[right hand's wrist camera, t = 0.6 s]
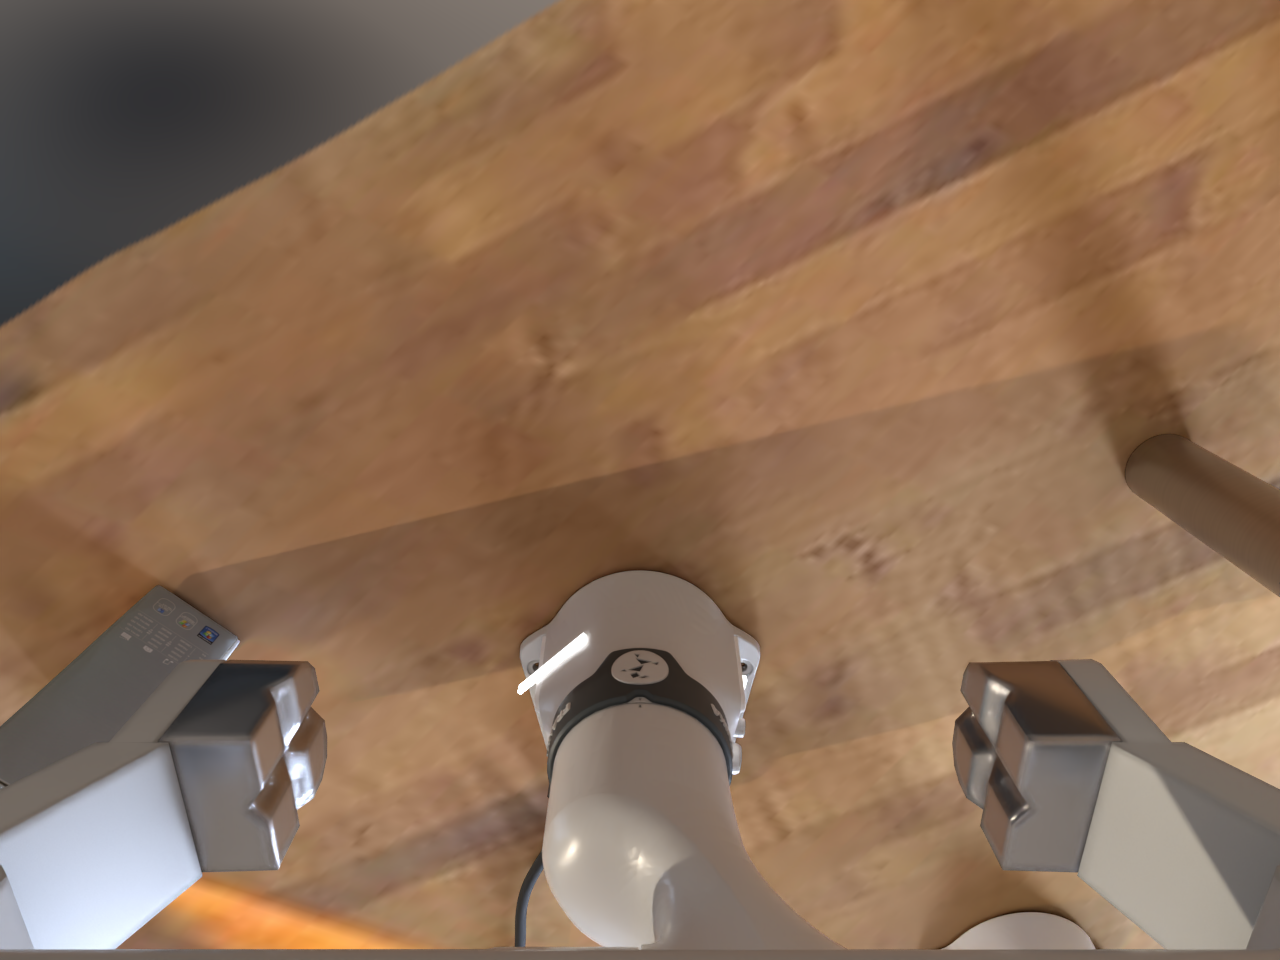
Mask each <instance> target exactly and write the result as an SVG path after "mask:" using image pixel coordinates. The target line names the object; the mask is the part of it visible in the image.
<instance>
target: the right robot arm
mask: <svg viewBox="0 0 1280 960" xmlns="http://www.w3.org/2000/svg"><path fill="white" fill-rule="evenodd" d="M520 660H521V663H522V667H523V670H524V674H525V677H526V680H525V681H524V682H522V683H521V684H520V685H519V688H518V693H519V694H520V695H521V694H522V693H523V692H525V691H526V690H527V689H528V688H529V690H530V694H531V697H532V701H533V704H534V707H535V711H536V714H537V717H538V721H539V724H540V728H541V731H542V734H543V738H544V741H545V745H546V748H547V756H548V761H547V773H548V779H549V789H548V798H549V802H548V809H547V817H546V824H545V832H544V839H543V846H542V851H541V852H540V854H539V855H538V857H537V859H536V860H535V862H534V863H533V865H532V867H531V868H530V870H529V872H528V874H527V875H526V877H525V879H524V882H523V884H522V887H521V890H520V893H519V897H518V902H517V908H516V917H515V947H494V948H489V949H217V950H151V949H116V948H117V947H118V946H119V945H120V944H122V943H123V942H124V941H125V940H126V939H128V938H129V937H130V936H131V935H132V934H134V933H135V932H136V931H137V930H138V929H140V928H141V927H142V926H143V925H144V924H146V923H147V922H148V921H149V920H150V919H152V918H153V917H154V916H155V915H156V914H158V913H159V912H160V911H161V910H162V909H164V908H165V907H166V906H167V905H168V904H170V903H171V902H172V901H173V900H174V899H176V898H177V897H178V896H179V895H180V894H182V893H183V892H184V891H185V890H186V889H188V888H189V887H190V886H191V885H192V884H194V883H195V882H196V881H197V880H198V879H200V878H201V877H202V872H228V871H263V870H278V868H279V866H280V864H281V862H282V860H283V858H284V856H285V854H286V852H287V850H288V848H289V846H290V844H291V842H292V840H293V838H294V836H295V834H296V832H297V830H298V828H299V826H300V825H299V820H298V814H297V809H298V808H300V807H301V806H303V805H304V804H305V803H307V802H308V801H310V800H311V799H313V798H314V796H315V794H316V792H317V789H318V787H319V785H320V783H321V781H322V777H323V773H324V768H325V763H326V759H327V733H326V727H325V720H324V719H323V718H322V717H321V716H320V715H319V714H318V713H317V712H316V711H315V710H314V709H313V708H312V707H311V705H312V703H313V701H314V699H315V698H316V696H317V694H318V692H319V686H318V681H317V677H316V672H315V668H314V667H313V666H312V665H311V664H310V663H309V662H308V661H264V660H228V661H227V660H188V661H184V662H181V663H179V664H178V665H177V666H176V667H175V668H174V669H173V671H172V672H171V673H170V674H169V675H168V676H167V677H166V678H165V680H164V681H163V682H162V683H161V684H160V685H159V686H158V687H157V689H156V690H155V691H154V692H153V693H152V694H151V695H150V696H149V698H148V699H147V700H146V701H145V702H144V703H143V704H142V705H141V706H140V708H139V709H138V710H137V711H136V712H135V713H134V714H133V715H132V717H131V718H130V719H129V720H128V721H127V722H126V723H125V724H124V726H123V727H122V728H121V729H120V730H119V731H118V732H117V733H116V734H115V736H114V737H113V738H112V739H111V740H110V741H109V742H95V743H93V744H91V745H89V746H87V747H85V748H83V749H81V750H79V751H77V752H75V753H73V754H71V755H69V756H67V757H65V758H63V759H61V760H59V761H57V762H55V763H53V764H51V765H49V766H46V767H44V768H42V769H40V770H38V771H36V772H34V773H32V774H30V775H28V776H26V777H24V778H22V779H20V780H18V781H16V782H14V783H12V784H10V785H8V786H6V787H4V788H2V789H0V960H1280V789H1278V788H1276V787H1274V786H1272V785H1270V784H1268V783H1266V782H1264V781H1262V780H1260V779H1258V778H1256V777H1254V776H1252V775H1250V774H1248V773H1245V772H1243V771H1241V770H1239V769H1237V768H1235V767H1233V766H1231V765H1229V764H1227V763H1225V762H1223V761H1221V760H1219V759H1217V758H1215V757H1213V756H1211V755H1209V754H1207V753H1205V752H1203V751H1201V750H1199V749H1197V748H1195V747H1193V746H1191V745H1189V744H1187V743H1185V742H1171V741H1170V740H1169V739H1168V738H1167V737H1166V736H1165V735H1164V733H1163V732H1162V731H1161V730H1160V729H1159V728H1158V727H1157V726H1156V724H1155V723H1154V722H1153V721H1152V720H1151V719H1150V718H1149V717H1148V715H1147V714H1146V713H1145V712H1144V711H1143V710H1142V709H1141V708H1140V706H1139V705H1138V704H1137V703H1136V702H1135V701H1134V700H1133V699H1132V698H1131V696H1130V695H1129V694H1128V693H1127V692H1126V691H1125V690H1124V689H1123V687H1122V686H1121V685H1120V684H1119V683H1118V682H1117V681H1116V680H1115V678H1114V677H1113V676H1112V675H1111V674H1110V673H1109V672H1108V671H1107V669H1106V668H1105V667H1104V666H1103V665H1102V664H1101V663H1099V662H1097V661H1094V660H1092V659H1078V660H1051V661H1029V662H973V663H969V664H968V666H967V668H966V670H965V672H964V675H963V680H962V685H961V692H962V694H963V696H964V698H965V699H966V701H967V703H968V705H969V707H968V708H967V709H966V710H965V711H964V712H963V713H962V714H961V715H960V716H959V717H958V718H957V719H956V720H955V728H954V735H953V743H952V744H953V756H954V766H955V770H956V773H957V777H958V780H959V783H960V785H961V787H962V790H963V792H964V794H965V796H966V798H967V799H969V800H970V801H972V802H973V803H975V804H976V805H977V806H979V807H980V808H982V809H983V814H982V820H981V825H980V826H981V828H982V830H983V832H984V834H985V836H986V838H987V840H988V842H989V844H990V846H991V848H992V850H993V852H994V854H995V856H996V858H997V860H998V862H999V864H1000V866H1001V868H1002V870H1015V871H1051V872H1078V875H1077V876H1078V877H1080V878H1081V879H1082V880H1083V881H1084V882H1086V883H1087V884H1088V885H1089V886H1090V887H1092V888H1093V889H1094V890H1095V891H1096V892H1098V893H1099V894H1100V895H1101V896H1102V897H1104V898H1105V899H1106V900H1107V901H1108V902H1109V903H1111V904H1112V905H1113V906H1114V907H1115V908H1117V909H1118V910H1119V911H1120V912H1121V913H1123V914H1124V915H1125V916H1126V917H1127V918H1129V919H1130V920H1131V921H1132V922H1133V923H1135V924H1136V925H1137V926H1138V927H1139V928H1141V929H1142V930H1143V931H1144V932H1145V933H1147V934H1148V935H1149V936H1150V937H1151V938H1153V939H1154V940H1155V941H1156V942H1157V943H1159V944H1160V945H1161V946H1162V947H1163V948H1165V949H978V950H848V949H846V948H844V947H843V946H841V945H839V944H838V943H836V942H834V941H833V940H831V939H830V938H828V937H827V936H825V935H824V934H823V933H821V932H820V931H819V930H817V929H816V928H814V927H813V926H812V925H811V924H809V923H808V922H807V921H806V920H805V919H803V918H802V917H801V916H800V915H799V914H797V913H796V912H795V911H794V910H793V909H792V908H791V907H790V906H789V905H788V904H787V903H786V902H785V901H784V900H783V899H782V898H781V897H780V896H779V895H778V894H777V893H776V892H775V890H774V889H773V888H772V887H771V886H770V885H769V884H768V883H767V881H766V880H765V879H764V878H763V876H762V875H761V874H760V873H759V871H758V870H757V868H756V867H755V865H754V864H753V862H752V861H751V859H750V857H749V855H748V853H747V851H746V850H745V847H744V845H743V842H742V839H741V835H740V832H739V828H738V824H737V820H736V816H735V812H734V807H733V803H732V797H731V792H730V784H731V779H732V774H733V775H736V774H738V773H739V771H740V768H741V761H742V748H741V745H739V744H738V743H735V741H736V738H737V737H741V738H742V737H744V734H745V727H746V723H745V719H743V714H744V711H745V707H746V704H747V701H748V697H749V694H750V691H751V687H752V684H753V680H754V677H755V674H756V670H757V667H758V664H759V660H760V646H759V644H758V642H757V641H756V640H755V639H754V638H753V637H752V636H750V635H749V634H747V633H746V632H744V631H742V630H741V629H739V628H737V627H735V626H733V625H732V624H731V623H730V622H729V621H728V620H727V619H726V618H725V616H724V615H723V613H722V612H721V611H720V609H719V608H718V606H717V605H716V604H715V603H714V602H713V600H712V599H711V598H710V597H709V596H708V595H706V594H705V593H704V592H703V591H702V590H700V589H699V588H698V587H696V586H694V585H693V584H691V583H689V582H687V581H685V580H683V579H681V578H678V577H676V576H673V575H669V574H666V573H661V572H655V571H645V570H635V571H625V572H619V573H614V574H611V575H607V576H604V577H602V578H599V579H597V580H595V581H593V582H591V583H589V584H587V585H586V586H584V587H583V588H581V589H580V590H578V591H577V592H576V593H575V594H574V595H572V596H571V597H570V598H569V599H568V600H567V602H566V603H565V604H564V605H563V606H562V608H561V609H560V611H559V612H558V613H557V615H556V616H555V618H554V619H553V620H552V621H551V622H550V623H549V624H548V625H547V626H545V627H543V628H541V629H540V630H538V631H536V632H534V633H533V634H531V635H530V636H528V637H527V638H526V639H525V640H524V641H523V642H522V644H521V646H520ZM535 663H539V667H538V666H536V665H535ZM741 663H745V665H744V666H742V667H741ZM543 869H544V872H545V876H546V879H547V882H548V885H549V887H550V889H551V891H552V893H553V895H554V897H555V898H556V900H557V902H558V903H559V905H560V907H561V908H562V909H563V911H564V912H565V914H566V915H567V916H568V918H569V919H570V920H571V921H572V923H573V924H574V925H575V926H576V927H577V928H578V929H579V930H580V931H581V932H582V933H584V934H585V935H586V936H587V937H589V938H590V939H592V940H593V941H595V942H597V943H598V944H600V945H601V946H603V947H525V942H526V912H527V906H528V901H529V897H530V894H531V891H532V889H533V887H534V884H535V882H536V880H537V879H538V877H539V875H540V873H541V872H542V870H543Z"/></svg>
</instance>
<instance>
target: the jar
mask: <svg viewBox="0 0 1280 960" xmlns="http://www.w3.org/2000/svg"><path fill="white" fill-rule="evenodd" d="M1125 478H1126V482H1127V485H1128V486H1129V488H1130V489H1131V491H1132V492H1133V493H1135V494H1136V495H1137V496H1139V497H1140V498H1142V499H1143V500H1144V501H1146V502H1147V503H1149V504H1150V505H1151V506H1153V507H1154V508H1156V509H1157V510H1158V511H1160V512H1161V513H1163V514H1164V515H1165V516H1167V517H1168V518H1170V519H1171V520H1172V521H1174V522H1175V523H1177V524H1178V525H1179V526H1181V527H1182V528H1184V529H1185V530H1186V531H1188V532H1189V533H1191V534H1192V535H1193V536H1195V537H1196V538H1198V539H1199V540H1200V541H1202V542H1203V543H1205V544H1206V545H1207V546H1209V547H1210V548H1212V549H1213V550H1214V551H1216V552H1217V553H1219V554H1220V555H1221V556H1223V557H1224V558H1226V559H1227V560H1228V561H1230V562H1231V563H1233V564H1234V565H1235V566H1237V567H1238V568H1240V569H1241V570H1242V571H1244V572H1245V573H1247V574H1248V575H1249V576H1251V577H1252V578H1254V579H1255V580H1256V581H1258V582H1259V583H1261V584H1262V585H1263V586H1265V587H1266V588H1268V589H1269V590H1270V591H1272V592H1273V593H1275V594H1276V595H1277V596H1279V597H1280V594H1279V593H1280V584H1279V583H1280V490H1279V489H1277V488H1275V487H1273V486H1272V485H1270V484H1268V483H1266V482H1264V481H1262V480H1261V479H1259V478H1257V477H1255V476H1253V475H1252V474H1250V473H1248V472H1246V471H1244V470H1242V469H1241V468H1239V467H1237V466H1235V465H1233V464H1231V463H1230V462H1228V461H1226V460H1224V459H1222V458H1220V457H1219V456H1217V455H1215V454H1213V453H1211V452H1209V451H1208V450H1206V449H1204V448H1202V447H1200V446H1198V445H1197V444H1195V443H1193V442H1191V441H1189V440H1187V439H1186V438H1184V437H1181V436H1179V435H1174V434H1165V435H1159V436H1156V437H1153V438H1151V439H1149V440H1147V441H1145V442H1144V443H1142V444H1141V445H1140V446H1139V447H1138V448H1137V449H1136V450H1135V451H1134V452H1133V453H1132V455H1131V456H1130V458H1129V460H1128V462H1127V465H1126V470H1125Z"/></svg>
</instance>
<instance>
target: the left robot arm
mask: <svg viewBox="0 0 1280 960" xmlns="http://www.w3.org/2000/svg"><path fill="white" fill-rule="evenodd" d="M978 949H1096V948H1095V947H1094V945H1093V943H1092V941H1091V939H1090V938H1089V936H1088V935H1087V934H1086V932H1085V931H1084V930H1083V929H1082V928H1080V927H1079V926H1078V925H1076V924H1075V923H1073V922H1072V921H1070V920H1068V919H1065V918H1063V917H1060V916H1057V915H1052V914H1047V913H1040V912H1021V913H1013V914H1007V915H1003V916H999V917H996V918H993V919H990V920H987V921H985V922H983V923H981V924H979V925H977V926H975V927H973V928H971V929H970V930H968V931H967V932H965V933H964V934H963V935H961V936H960V937H959V938H958V939H957V940H955V941H954V942H953V943H951V944H950V945H949V946H947V947H945V948H942V949H940V950H978Z"/></svg>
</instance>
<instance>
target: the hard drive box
mask: <svg viewBox="0 0 1280 960" xmlns="http://www.w3.org/2000/svg"><path fill="white" fill-rule="evenodd" d="M237 638H238V637H237V636H236V635H234V634H232V633H231V632H230V631H228V630H227V629H225V628H224V627H222V626H220V625H219V624H217V623H216V622H214V621H213V620H211V619H210V618H209V617H207V616H206V615H204V614H203V613H201V612H200V611H198V610H197V609H195V608H193V607H192V606H190V605H189V604H187V603H186V602H184V601H183V600H182V599H180V598H179V597H177V596H176V595H174V594H173V593H171V592H170V591H168V590H166V589H165V588H163V587H162V586H160V585H157V586H155V587H154V588H153V589H152V590H151V591H150V592H149V593H147V594H146V595H145V596H144V597H143V598H142V599H141V600H140V601H138V602H137V603H136V604H135V605H134V606H133V607H132V608H131V609H129V610H128V611H127V612H126V613H125V614H124V615H123V616H122V617H121V618H120V619H118V620H117V621H116V622H115V623H114V624H113V625H112V626H111V627H109V628H108V629H107V630H106V631H105V632H104V633H103V634H102V635H101V636H100V637H99V638H97V639H96V640H95V641H94V642H93V643H92V644H91V645H90V646H89V647H88V648H87V649H86V650H84V651H83V652H82V653H81V654H80V655H79V656H78V657H77V658H76V659H75V660H74V661H72V662H71V663H70V664H69V665H68V666H67V667H66V668H65V669H64V670H63V671H61V672H60V673H59V674H58V675H57V676H56V677H55V678H54V679H53V680H52V681H50V682H49V683H48V684H47V685H46V686H45V687H44V688H43V689H42V690H40V691H39V692H38V693H37V694H36V695H35V696H34V697H33V698H32V699H31V700H29V701H28V702H27V703H26V704H25V705H24V706H23V707H22V708H20V709H19V710H18V711H17V712H16V713H15V714H14V715H13V716H12V717H10V718H9V719H8V720H7V721H6V722H5V723H4V724H3V725H2V726H0V789H2V788H4V787H6V786H8V785H10V784H12V783H14V782H16V781H18V780H20V779H22V778H24V777H26V776H28V775H30V774H32V773H34V772H36V771H38V770H40V769H42V768H44V767H46V766H49V765H51V764H53V763H55V762H57V761H59V760H61V759H63V758H65V757H67V756H69V755H71V754H73V753H75V752H77V751H79V750H81V749H83V748H85V747H87V746H89V745H91V744H93V743H95V742H109V741H110V740H111V739H112V738H113V737H114V736H115V734H116V733H117V732H118V731H119V730H120V729H121V728H122V727H123V726H124V724H125V723H126V722H127V721H128V720H129V719H130V718H131V717H132V715H133V714H134V713H135V712H136V711H137V710H138V709H139V708H140V706H141V705H142V704H143V703H144V702H145V701H146V700H147V699H148V698H149V696H150V695H151V694H152V693H153V692H154V691H155V690H156V689H157V687H158V686H159V685H160V684H161V683H162V682H163V681H164V680H165V678H166V677H167V676H168V675H169V674H170V673H171V672H172V671H173V669H174V668H175V667H176V666H177V665H178V664H179V663H181V662H184V661H188V660H226V659H227V658H228V657H229V656H230V654H231V653H232V652H233V651H234V649H235V648H236V647H237V645H238V644H239V642H240V641H239V640H238V639H237Z"/></svg>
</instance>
